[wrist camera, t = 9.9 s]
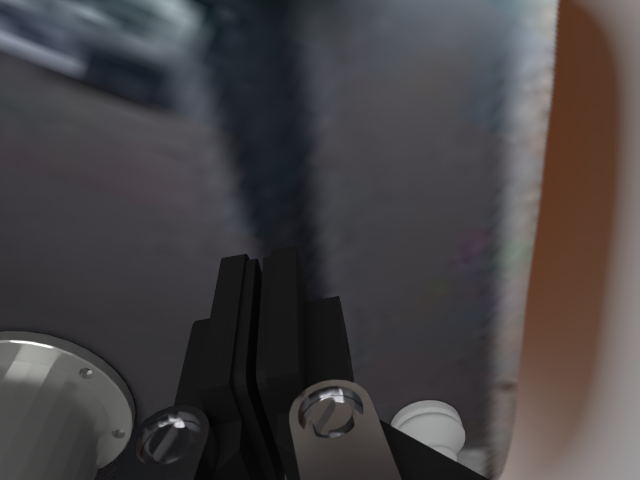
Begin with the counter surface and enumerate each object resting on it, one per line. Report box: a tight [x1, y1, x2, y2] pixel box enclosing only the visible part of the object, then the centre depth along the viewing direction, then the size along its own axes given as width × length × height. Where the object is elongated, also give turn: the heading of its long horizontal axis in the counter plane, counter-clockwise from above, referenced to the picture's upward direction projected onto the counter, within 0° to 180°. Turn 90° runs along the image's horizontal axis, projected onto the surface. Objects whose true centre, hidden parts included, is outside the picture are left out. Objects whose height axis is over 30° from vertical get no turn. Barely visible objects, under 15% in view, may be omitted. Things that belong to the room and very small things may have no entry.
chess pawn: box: [391, 400, 465, 462], centre depth 36 cm, size 5×5×9 cm
